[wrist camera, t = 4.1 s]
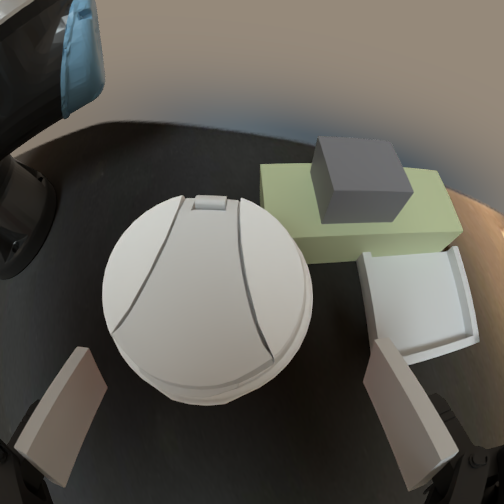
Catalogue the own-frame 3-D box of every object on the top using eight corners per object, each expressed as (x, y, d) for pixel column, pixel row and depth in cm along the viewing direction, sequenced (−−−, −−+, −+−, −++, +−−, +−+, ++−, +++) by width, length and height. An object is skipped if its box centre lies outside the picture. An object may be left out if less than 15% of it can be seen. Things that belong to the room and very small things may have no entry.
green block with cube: (273, 386, 19) (285, 395, 11) (259, 199, 27) (260, 127, 18) (468, 344, 19) (532, 322, 11) (428, 198, 27) (465, 147, 19)
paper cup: (192, 288, 23) (124, 180, 10) (284, 295, 22) (317, 187, 10) (179, 380, 20) (72, 377, 7) (277, 391, 19) (314, 420, 6)
